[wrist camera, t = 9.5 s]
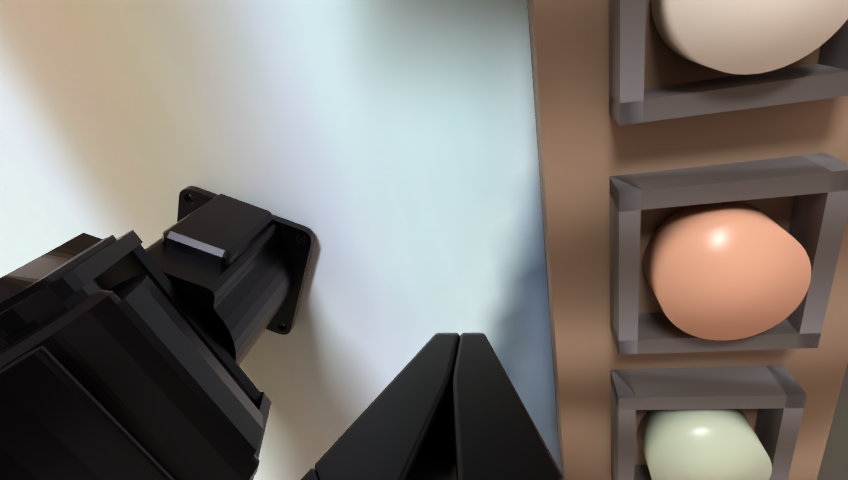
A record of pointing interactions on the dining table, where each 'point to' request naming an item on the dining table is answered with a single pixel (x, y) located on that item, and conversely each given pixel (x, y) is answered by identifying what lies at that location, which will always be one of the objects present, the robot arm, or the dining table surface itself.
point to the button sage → (702, 445)
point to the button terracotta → (725, 270)
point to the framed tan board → (661, 198)
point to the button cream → (747, 31)
